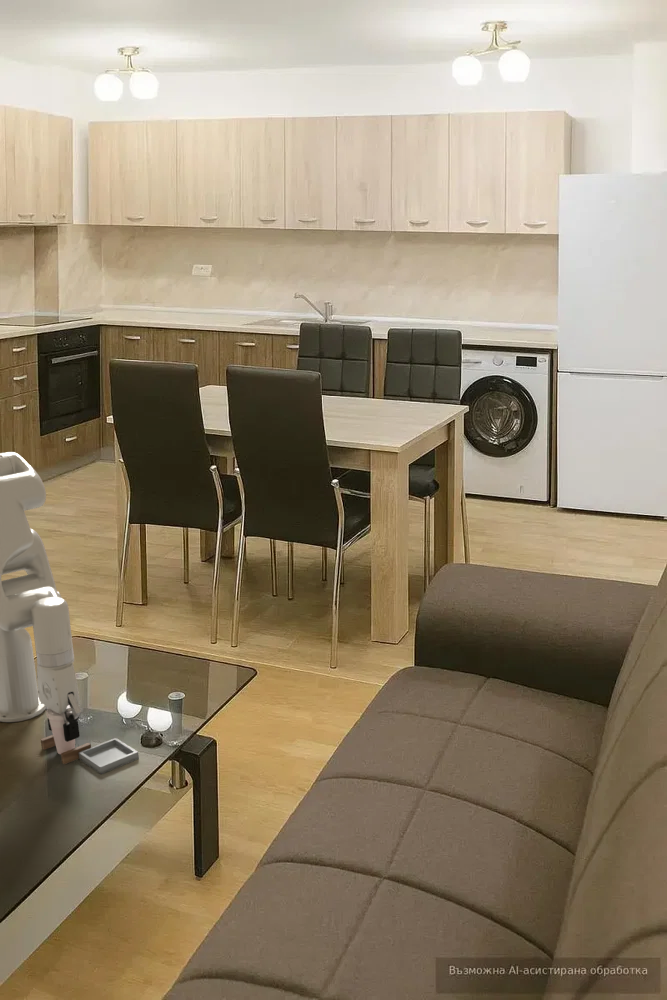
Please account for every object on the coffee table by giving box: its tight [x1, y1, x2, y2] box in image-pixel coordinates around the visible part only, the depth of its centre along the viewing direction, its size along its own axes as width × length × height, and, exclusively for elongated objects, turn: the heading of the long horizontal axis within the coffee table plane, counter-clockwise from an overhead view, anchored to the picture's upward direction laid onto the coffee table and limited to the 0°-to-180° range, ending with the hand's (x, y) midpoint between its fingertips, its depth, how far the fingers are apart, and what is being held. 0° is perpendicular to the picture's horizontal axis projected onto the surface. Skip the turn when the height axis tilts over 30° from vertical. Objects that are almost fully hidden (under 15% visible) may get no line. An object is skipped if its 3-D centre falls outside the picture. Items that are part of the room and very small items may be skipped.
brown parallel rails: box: [40, 734, 92, 765], centre depth 236 cm, size 10×6×2 cm, turn 42°
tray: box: [78, 737, 140, 775], centre depth 232 cm, size 9×9×2 cm
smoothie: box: [45, 705, 76, 755], centre depth 235 cm, size 6×6×14 cm
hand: (64, 733), depth 235 cm, fingers closed on smoothie, 6 cm apart
